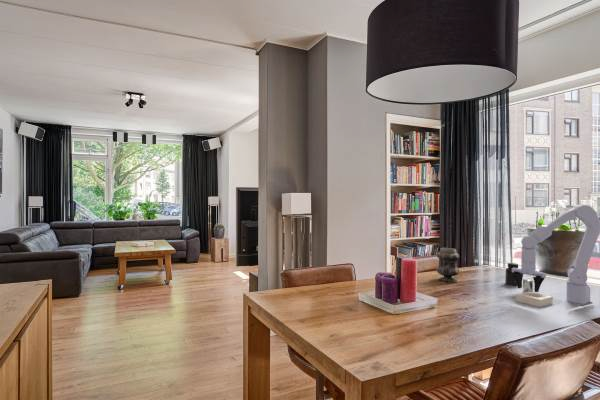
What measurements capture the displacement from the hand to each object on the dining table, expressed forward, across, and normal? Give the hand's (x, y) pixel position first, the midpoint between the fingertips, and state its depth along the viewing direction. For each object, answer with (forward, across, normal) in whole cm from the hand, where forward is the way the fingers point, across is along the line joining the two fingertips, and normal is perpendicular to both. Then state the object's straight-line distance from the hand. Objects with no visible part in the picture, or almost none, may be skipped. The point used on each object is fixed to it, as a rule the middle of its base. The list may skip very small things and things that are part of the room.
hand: (528, 289), depth 171 cm
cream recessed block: (+3, +5, -6) cm, 9 cm away
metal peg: (+2, 0, 0) cm, 2 cm away
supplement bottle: (+4, -16, +15) cm, 22 cm away
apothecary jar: (+4, -41, -5) cm, 41 cm away
